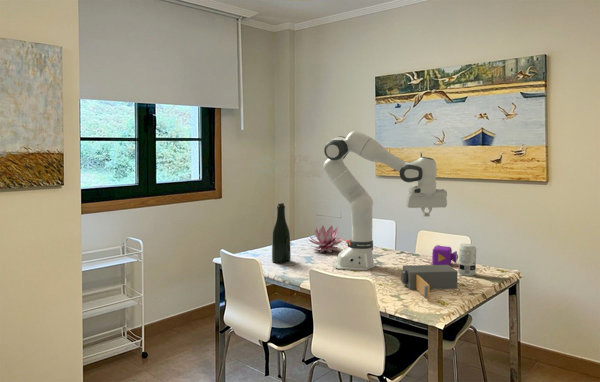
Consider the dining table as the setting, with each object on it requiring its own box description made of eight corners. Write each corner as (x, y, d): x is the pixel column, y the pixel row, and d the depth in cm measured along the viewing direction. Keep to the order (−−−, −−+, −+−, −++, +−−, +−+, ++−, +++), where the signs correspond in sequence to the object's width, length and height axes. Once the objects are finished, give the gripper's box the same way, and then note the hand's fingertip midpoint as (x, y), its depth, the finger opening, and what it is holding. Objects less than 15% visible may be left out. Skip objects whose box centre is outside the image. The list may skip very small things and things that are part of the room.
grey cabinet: (406, 289, 221) (406, 272, 221) (399, 282, 233) (399, 265, 232) (457, 288, 223) (457, 271, 222) (447, 281, 235) (448, 264, 234)
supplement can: (455, 272, 250) (456, 243, 249) (471, 272, 251) (472, 243, 249) (462, 276, 242) (463, 247, 241) (478, 276, 243) (479, 246, 241)
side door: (413, 287, 221) (414, 274, 220) (417, 287, 221) (417, 274, 220) (425, 299, 205) (425, 285, 204) (429, 299, 205) (429, 285, 204)
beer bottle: (282, 264, 266) (282, 204, 263) (268, 261, 272) (267, 203, 269) (294, 260, 274) (294, 202, 271) (280, 258, 281) (279, 201, 277)
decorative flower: (301, 251, 299) (301, 226, 297) (325, 246, 313) (325, 222, 312) (326, 257, 283) (326, 231, 281) (350, 251, 297) (351, 227, 296)
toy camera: (459, 267, 260) (459, 249, 259) (432, 266, 262) (433, 248, 261) (456, 262, 270) (457, 245, 269) (431, 261, 273) (431, 244, 272)
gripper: (444, 188, 250) (444, 215, 251) (405, 188, 248) (405, 215, 250) (449, 189, 243) (448, 217, 245) (409, 190, 242) (408, 217, 243)
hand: (426, 216), depth 247 cm, fingers closed
